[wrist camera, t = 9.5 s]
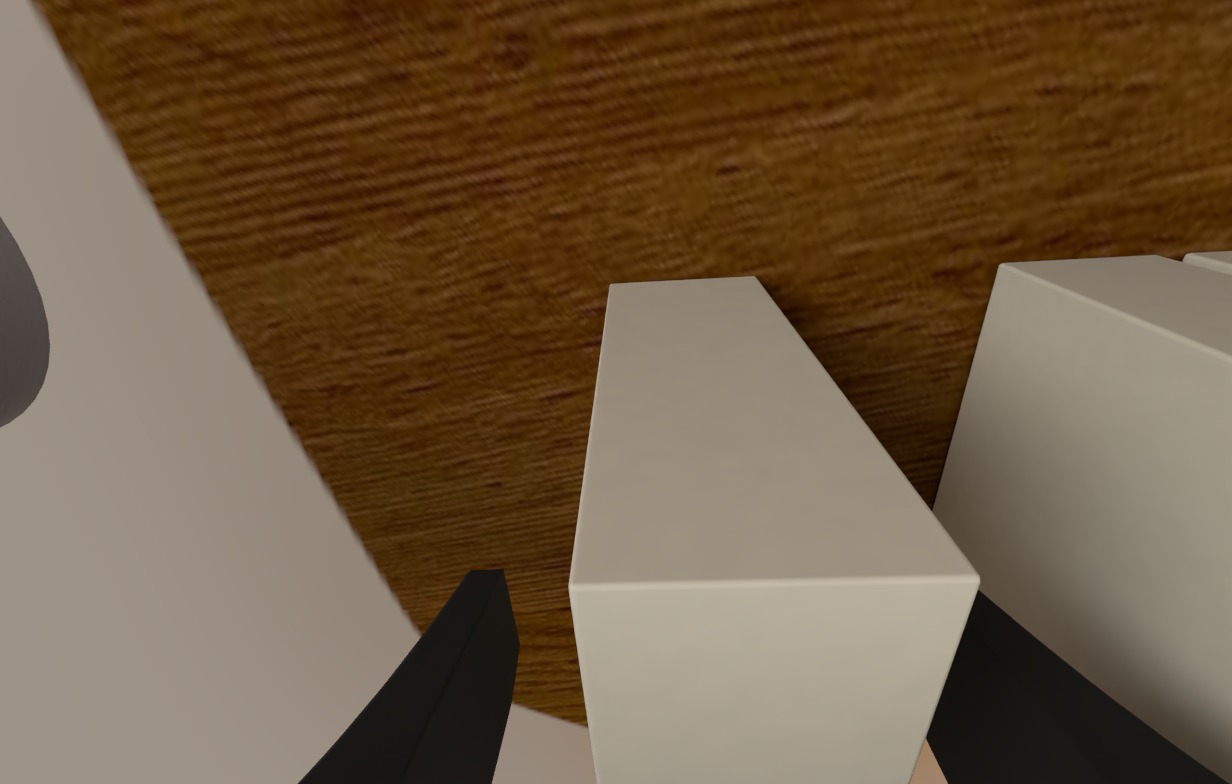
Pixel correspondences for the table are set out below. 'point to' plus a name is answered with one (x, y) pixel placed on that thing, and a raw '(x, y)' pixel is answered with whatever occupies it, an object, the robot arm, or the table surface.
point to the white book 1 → (750, 558)
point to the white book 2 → (1108, 481)
